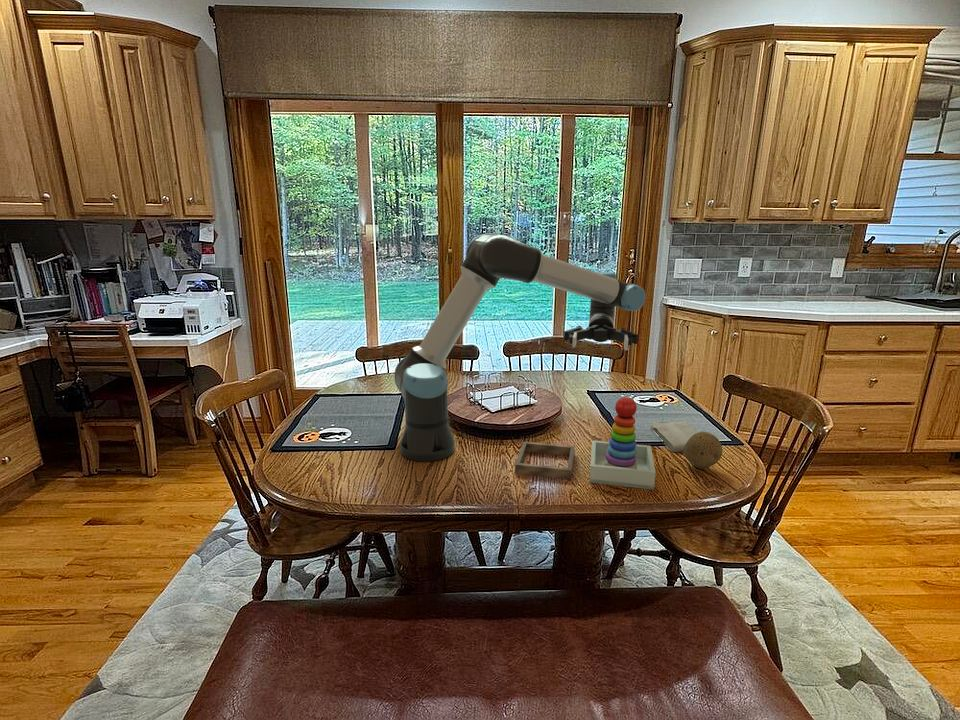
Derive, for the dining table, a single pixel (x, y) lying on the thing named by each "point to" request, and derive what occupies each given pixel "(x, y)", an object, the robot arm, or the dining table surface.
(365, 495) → the dining table surface
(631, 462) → the stacking toy
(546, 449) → the walnut holder
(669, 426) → the washcloth
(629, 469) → the sage tray
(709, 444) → the natural sponge
